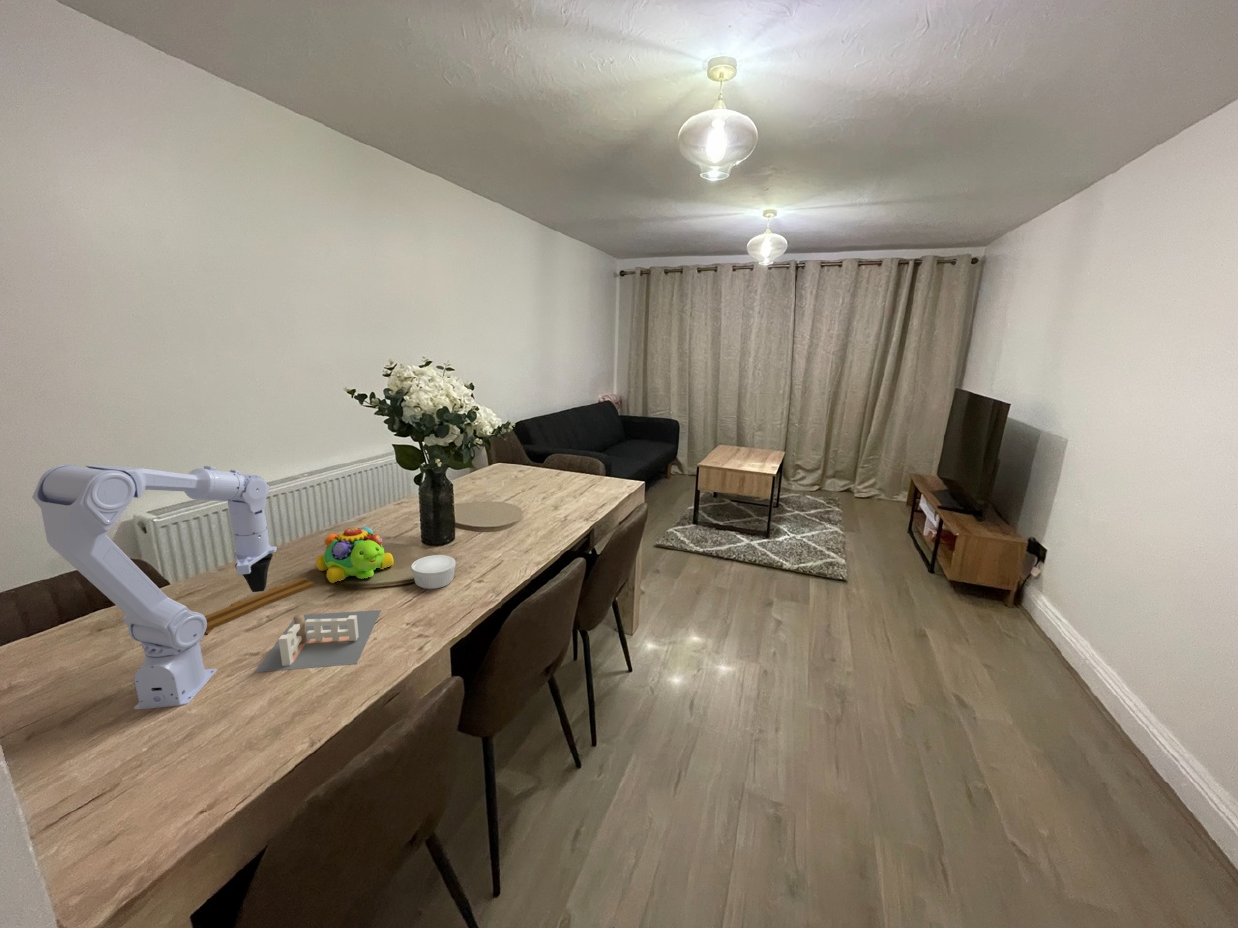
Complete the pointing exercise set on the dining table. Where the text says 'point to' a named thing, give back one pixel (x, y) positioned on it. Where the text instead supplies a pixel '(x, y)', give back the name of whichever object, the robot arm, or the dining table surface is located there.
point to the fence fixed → (292, 640)
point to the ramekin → (433, 571)
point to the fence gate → (333, 628)
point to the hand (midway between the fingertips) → (258, 590)
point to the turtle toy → (353, 554)
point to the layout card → (325, 645)
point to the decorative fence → (255, 603)
